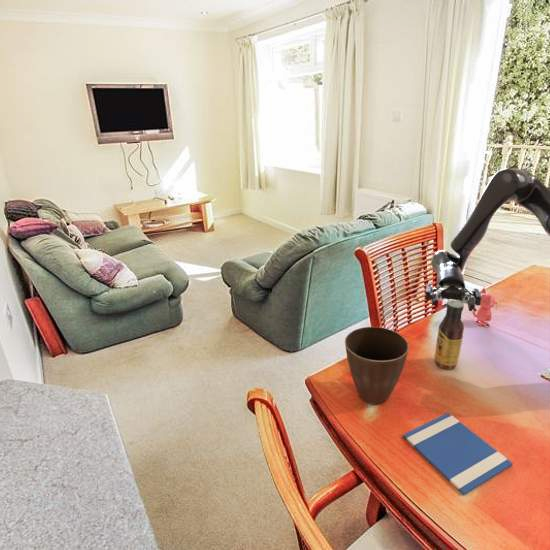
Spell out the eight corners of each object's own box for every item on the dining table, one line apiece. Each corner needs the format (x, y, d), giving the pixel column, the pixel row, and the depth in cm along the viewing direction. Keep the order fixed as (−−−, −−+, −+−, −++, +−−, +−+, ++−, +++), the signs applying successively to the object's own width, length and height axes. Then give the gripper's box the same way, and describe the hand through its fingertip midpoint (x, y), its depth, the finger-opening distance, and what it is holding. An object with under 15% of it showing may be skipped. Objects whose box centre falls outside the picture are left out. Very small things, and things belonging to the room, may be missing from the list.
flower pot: (368, 424, 88) (371, 368, 81) (332, 387, 100) (333, 336, 94) (416, 402, 93) (422, 349, 87) (376, 370, 106) (380, 321, 100)
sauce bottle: (433, 355, 111) (442, 295, 103) (456, 359, 108) (467, 298, 101) (433, 369, 105) (442, 306, 97) (458, 373, 103) (469, 309, 95)
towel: (447, 414, 89) (448, 412, 89) (512, 465, 76) (513, 462, 76) (402, 436, 84) (403, 434, 84) (463, 495, 71) (464, 493, 70)
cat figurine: (496, 329, 122) (503, 296, 117) (473, 328, 123) (479, 295, 118) (488, 318, 128) (494, 286, 124) (467, 317, 130) (472, 286, 125)
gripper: (426, 269, 116) (426, 290, 102) (478, 273, 111) (485, 296, 97) (424, 290, 119) (424, 314, 105) (474, 295, 114) (481, 321, 100)
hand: (453, 306), depth 101 cm, fingers open, 8 cm apart
